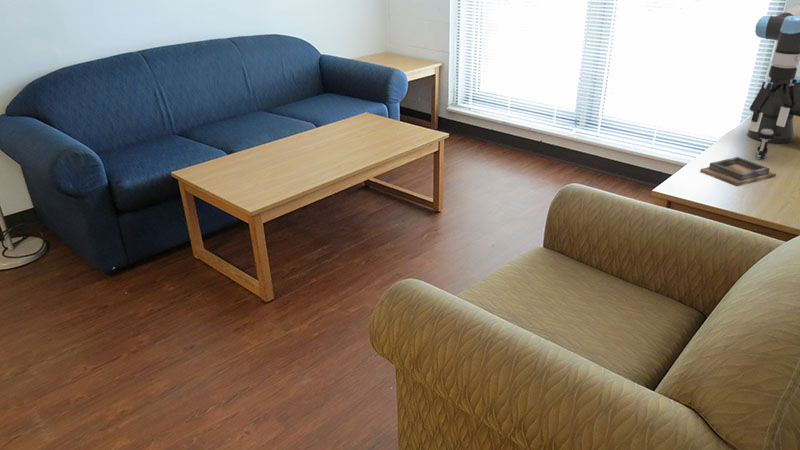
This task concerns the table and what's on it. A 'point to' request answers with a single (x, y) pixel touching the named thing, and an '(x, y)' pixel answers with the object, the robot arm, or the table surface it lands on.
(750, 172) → the dock
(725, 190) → the table surface
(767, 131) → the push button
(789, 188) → the table surface
